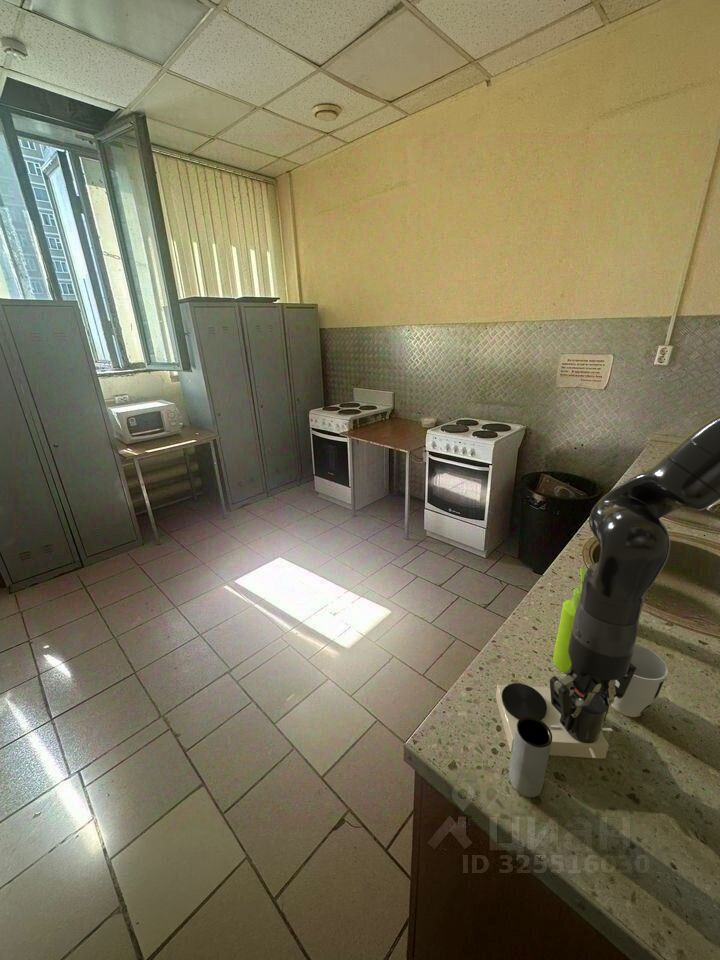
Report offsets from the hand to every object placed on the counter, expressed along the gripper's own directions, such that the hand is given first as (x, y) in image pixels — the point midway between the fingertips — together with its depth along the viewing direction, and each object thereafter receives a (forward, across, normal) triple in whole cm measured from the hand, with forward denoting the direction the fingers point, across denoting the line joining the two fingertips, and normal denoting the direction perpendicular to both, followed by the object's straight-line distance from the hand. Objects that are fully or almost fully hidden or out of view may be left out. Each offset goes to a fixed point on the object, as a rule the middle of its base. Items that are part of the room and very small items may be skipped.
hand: (582, 722), depth 61 cm
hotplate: (+1, -5, +7) cm, 9 cm away
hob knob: (+1, 0, 0) cm, 1 cm away
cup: (+5, +13, +3) cm, 14 cm away
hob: (+4, -2, +3) cm, 6 cm away
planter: (+5, -12, -2) cm, 13 cm away
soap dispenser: (+4, +11, +13) cm, 18 cm away
